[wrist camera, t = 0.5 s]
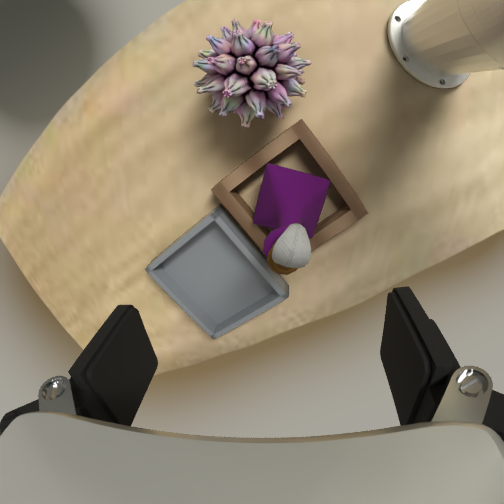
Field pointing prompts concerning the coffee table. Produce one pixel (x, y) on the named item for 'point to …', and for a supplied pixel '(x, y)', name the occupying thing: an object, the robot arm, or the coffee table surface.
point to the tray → (218, 275)
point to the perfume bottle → (289, 215)
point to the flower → (251, 71)
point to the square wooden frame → (264, 155)
